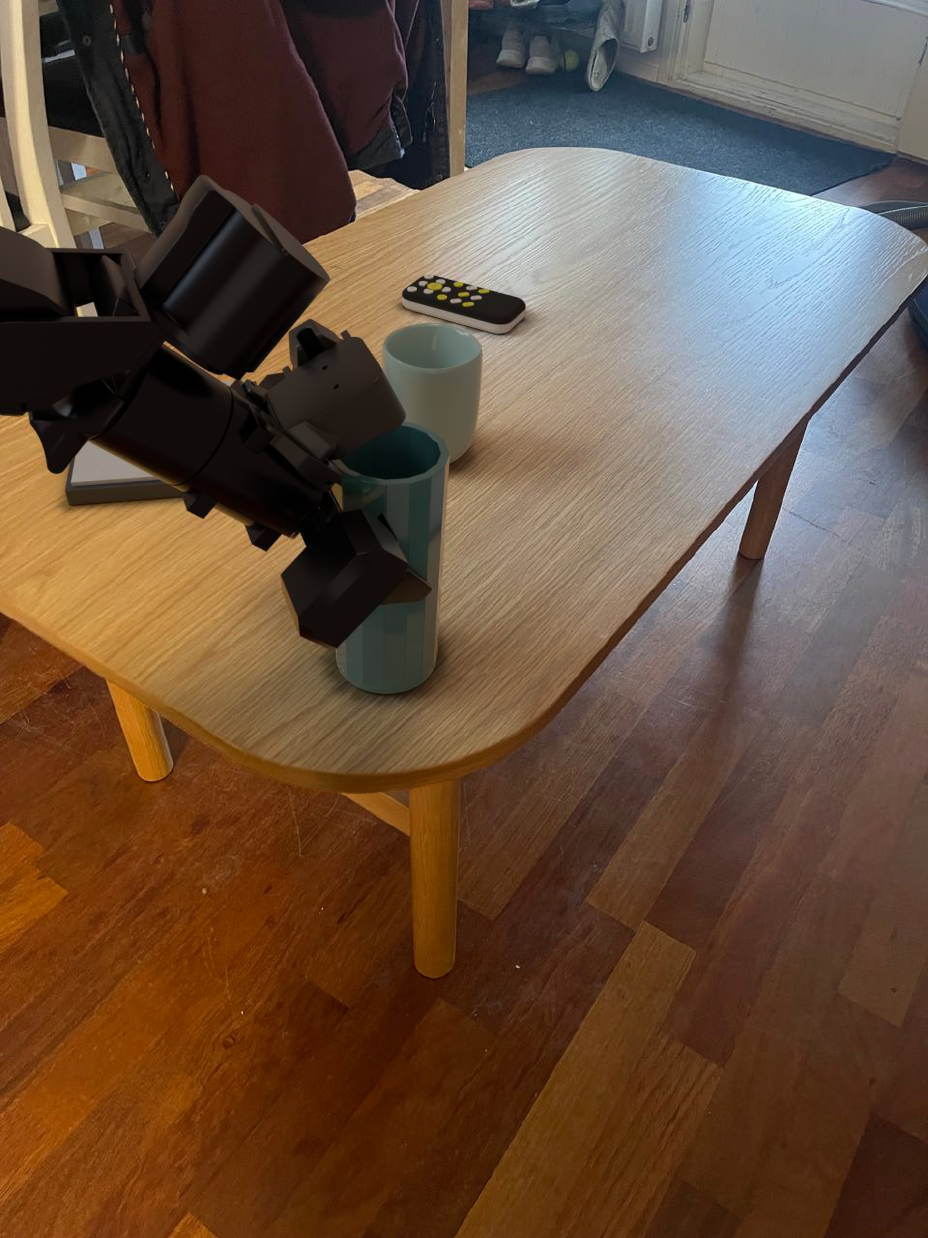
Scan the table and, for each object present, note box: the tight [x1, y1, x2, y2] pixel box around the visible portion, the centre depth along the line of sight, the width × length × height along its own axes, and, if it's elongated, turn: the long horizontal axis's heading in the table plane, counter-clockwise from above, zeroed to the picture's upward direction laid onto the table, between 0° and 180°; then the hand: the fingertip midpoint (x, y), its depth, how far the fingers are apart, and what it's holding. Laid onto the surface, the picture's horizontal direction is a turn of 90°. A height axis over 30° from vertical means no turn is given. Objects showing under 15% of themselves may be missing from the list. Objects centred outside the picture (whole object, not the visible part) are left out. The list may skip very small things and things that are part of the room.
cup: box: [381, 322, 484, 465], centre depth 77 cm, size 8×8×10 cm
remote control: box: [401, 273, 527, 334], centre depth 100 cm, size 6×13×2 cm, turn 63°
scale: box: [64, 379, 258, 506], centre depth 79 cm, size 15×15×2 cm
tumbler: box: [328, 421, 450, 695], centre depth 57 cm, size 7×7×16 cm
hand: (406, 557), depth 58 cm, fingers closed on tumbler, 7 cm apart
